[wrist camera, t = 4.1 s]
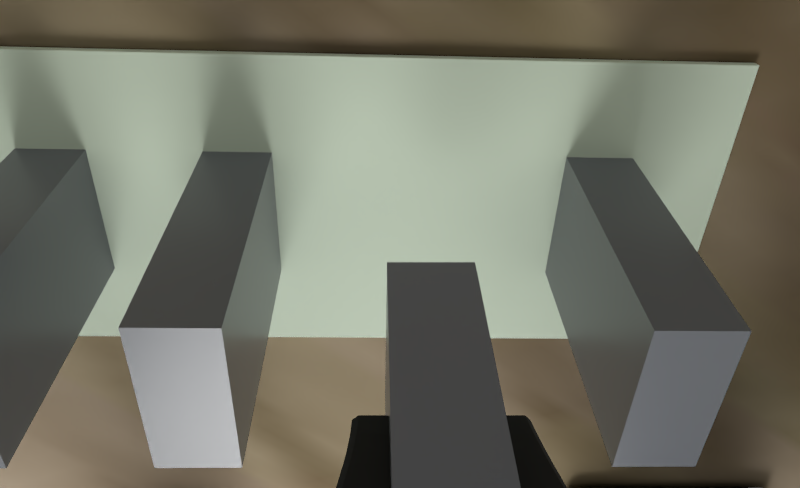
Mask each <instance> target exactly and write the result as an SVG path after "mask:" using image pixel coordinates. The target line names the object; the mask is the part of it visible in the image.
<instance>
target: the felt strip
mask: <svg viewBox="0 0 800 488" xmlns="http://www.w3.org/2000/svg"><path fill="white" fill-rule="evenodd" d="M758 68H759V65H758V64H756V63H737V62H692V61H646V60H600V59H554V58H509V57H463V56H417V55H371V54H326V53H280V52H234V51H189V50H143V49H97V48H51V47H6V46H0V163H1V162H2V161H3V160H4V159H5V158H6V157H7V156H8V155H9V154H10V153H11V152H12V151H13V150H14V149H15V148H21V149H84V150H86V153H87V157H88V161H89V166H90V170H91V174H92V178H93V182H94V186H95V190H96V194H97V198H98V202H99V206H100V210H101V214H102V218H103V222H104V226H105V230H106V235H107V239H108V243H109V247H110V251H111V255H112V259H113V263H114V267H115V269H114V271H113V273H112V275H111V276H110V278H109V280H108V282H107V284H106V286H105V287H104V289H103V291H102V293H101V295H100V297H99V299H98V300H97V302H96V304H95V306H94V308H93V310H92V311H91V313H90V315H89V317H88V319H87V321H86V322H85V324H84V326H83V328H82V330H81V332H80V333H79V335H78V336H120V332H119V329H118V327H119V325H120V323H121V321H122V319H123V317H124V315H125V313H126V311H127V309H128V306H129V304H130V302H131V300H132V298H133V296H134V294H135V292H136V290H137V288H138V285H139V283H140V281H141V279H142V277H143V275H144V273H145V271H146V269H147V267H148V265H149V262H150V260H151V258H152V256H153V254H154V252H155V250H156V248H157V246H158V244H159V241H160V239H161V237H162V235H163V233H164V231H165V229H166V227H167V225H168V223H169V221H170V218H171V216H172V214H173V212H174V210H175V208H176V206H177V204H178V202H179V200H180V198H181V195H182V193H183V191H184V189H185V187H186V185H187V183H188V181H189V179H190V177H191V174H192V172H193V170H194V168H195V166H196V164H197V162H198V160H199V158H200V156H201V154H202V151H208V152H271V153H272V160H273V172H274V184H275V197H276V209H277V222H278V234H279V247H280V259H281V274H280V279H279V284H278V289H277V294H276V299H275V305H274V310H273V315H272V320H271V325H270V330H269V335H268V337H373V338H386V295H387V262H475V265H476V270H477V274H478V279H479V284H480V289H481V294H482V299H483V304H484V309H485V314H486V319H487V324H488V329H489V333H490V338H562V339H568V337H567V334H566V331H565V328H564V326H563V323H562V320H561V317H560V314H559V311H558V308H557V305H556V302H555V299H554V297H553V294H552V291H551V288H550V285H549V282H548V279H547V276H546V273H545V271H546V265H547V260H548V254H549V249H550V243H551V238H552V233H553V227H554V222H555V216H556V211H557V206H558V200H559V195H560V189H561V184H562V178H563V173H564V168H565V162H566V157H583V158H633V159H634V161H635V162H636V164H637V165H638V166H639V168H640V169H641V171H642V172H643V174H644V175H645V177H646V178H647V180H648V181H649V182H650V184H651V185H652V187H653V188H654V190H655V191H656V193H657V194H658V196H659V197H660V199H661V200H662V201H663V203H664V204H665V206H666V207H667V209H668V210H669V212H670V213H671V215H672V216H673V218H674V219H675V220H676V222H677V223H678V225H679V226H680V228H681V229H682V231H683V232H684V234H685V235H686V237H687V238H688V239H689V241H690V242H691V244H692V245H693V247H694V248H695V250H696V251H697V252H698V249H699V246H700V243H701V240H702V237H703V234H704V231H705V228H706V225H707V222H708V219H709V216H710V213H711V210H712V207H713V204H714V201H715V198H716V195H717V192H718V189H719V186H720V183H721V180H722V177H723V174H724V171H725V168H726V165H727V162H728V159H729V156H730V153H731V150H732V146H733V143H734V140H735V137H736V134H737V131H738V128H739V125H740V122H741V119H742V116H743V113H744V110H745V107H746V104H747V101H748V98H749V95H750V92H751V89H752V86H753V83H754V80H755V77H756V74H757V71H758Z"/></svg>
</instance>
